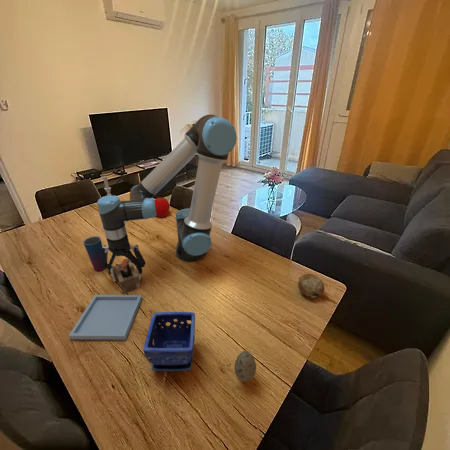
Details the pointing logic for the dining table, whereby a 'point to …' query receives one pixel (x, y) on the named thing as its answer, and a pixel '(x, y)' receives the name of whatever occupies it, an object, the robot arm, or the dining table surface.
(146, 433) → the dining table surface
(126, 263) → the mallet
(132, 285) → the brown hollow block
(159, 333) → the flower pot
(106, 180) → the candlestick
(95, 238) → the cup
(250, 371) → the decorative egg
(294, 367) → the dining table surface
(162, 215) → the red apple
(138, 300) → the tray
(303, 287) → the bread roll
